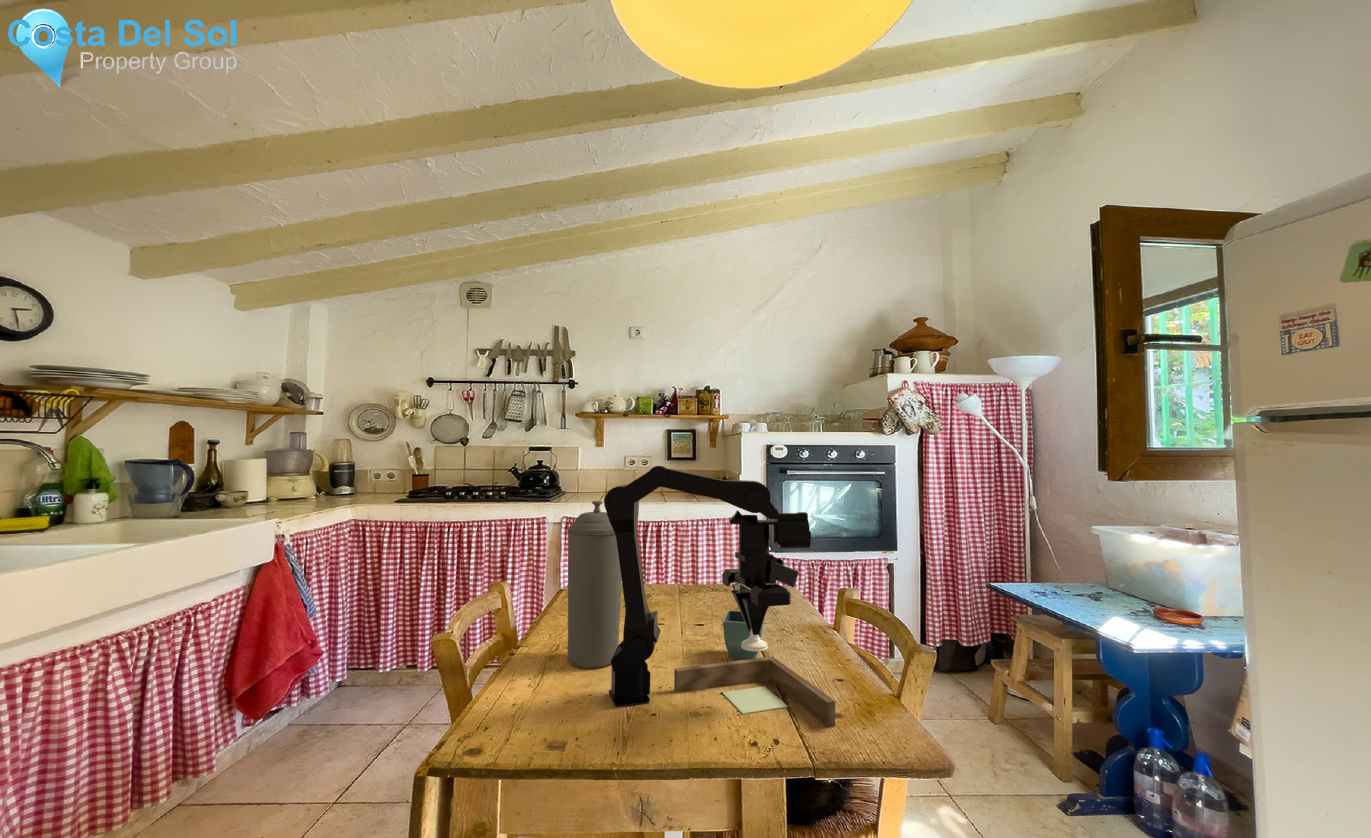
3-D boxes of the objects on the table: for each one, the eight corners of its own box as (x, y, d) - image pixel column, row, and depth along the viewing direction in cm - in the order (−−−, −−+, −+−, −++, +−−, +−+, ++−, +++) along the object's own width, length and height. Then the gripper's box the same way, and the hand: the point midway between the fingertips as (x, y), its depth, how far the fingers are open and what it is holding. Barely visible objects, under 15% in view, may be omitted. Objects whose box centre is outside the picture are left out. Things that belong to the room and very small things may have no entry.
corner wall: (718, 746, 86) (719, 719, 86) (674, 689, 106) (674, 668, 107) (835, 725, 93) (835, 701, 93) (772, 676, 114) (772, 656, 114)
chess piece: (737, 649, 101) (736, 593, 102) (746, 641, 105) (746, 588, 106) (762, 653, 98) (761, 595, 99) (771, 645, 103) (770, 590, 104)
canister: (553, 658, 122) (557, 500, 124) (601, 646, 130) (605, 497, 133) (582, 676, 112) (587, 504, 115) (633, 661, 121) (636, 501, 123)
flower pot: (762, 665, 119) (762, 623, 120) (722, 662, 121) (722, 620, 122) (764, 651, 128) (764, 612, 129) (727, 648, 130) (727, 609, 130)
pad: (742, 714, 97) (742, 713, 97) (722, 693, 105) (722, 692, 105) (787, 707, 100) (787, 706, 100) (764, 687, 108) (764, 686, 108)
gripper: (817, 555, 97) (818, 645, 95) (771, 539, 114) (771, 615, 113) (759, 557, 93) (759, 651, 92) (721, 541, 111) (720, 619, 110)
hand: (753, 632), depth 102 cm, fingers closed on chess piece
